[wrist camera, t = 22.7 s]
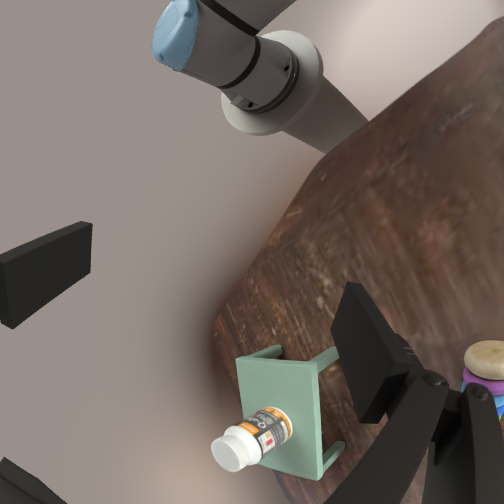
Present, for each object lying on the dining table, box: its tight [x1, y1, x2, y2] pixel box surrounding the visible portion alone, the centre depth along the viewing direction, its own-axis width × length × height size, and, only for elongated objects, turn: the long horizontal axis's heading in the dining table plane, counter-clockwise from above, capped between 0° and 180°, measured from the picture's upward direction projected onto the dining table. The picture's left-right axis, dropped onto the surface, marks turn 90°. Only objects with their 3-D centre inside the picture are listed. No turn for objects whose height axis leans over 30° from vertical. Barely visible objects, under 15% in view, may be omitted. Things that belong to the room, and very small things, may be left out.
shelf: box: [236, 345, 345, 481], centre depth 40 cm, size 18×12×9 cm, turn 9°
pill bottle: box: [211, 406, 293, 472], centre depth 33 cm, size 6×6×10 cm
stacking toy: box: [461, 340, 504, 421], centre depth 24 cm, size 8×8×19 cm
